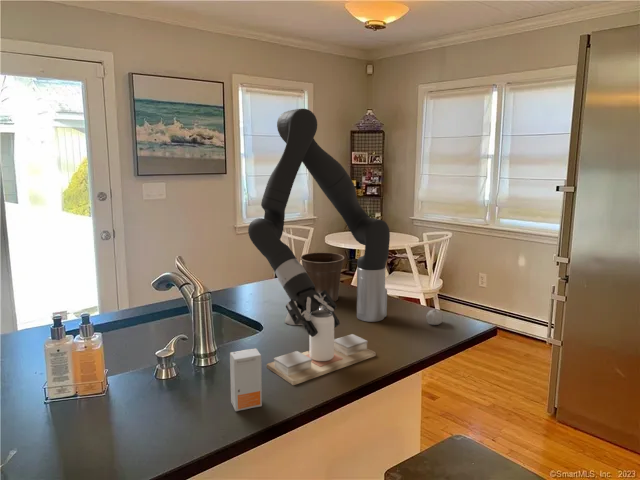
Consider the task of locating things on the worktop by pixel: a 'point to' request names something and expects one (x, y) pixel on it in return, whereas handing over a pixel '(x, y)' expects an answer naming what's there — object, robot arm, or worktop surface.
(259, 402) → the skincare box
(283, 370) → the tray with two blocks
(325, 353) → the can
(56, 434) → the worktop surface
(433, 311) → the garlic
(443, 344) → the worktop surface
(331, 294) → the plant pot
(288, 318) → the flask
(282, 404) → the worktop surface
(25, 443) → the worktop surface
